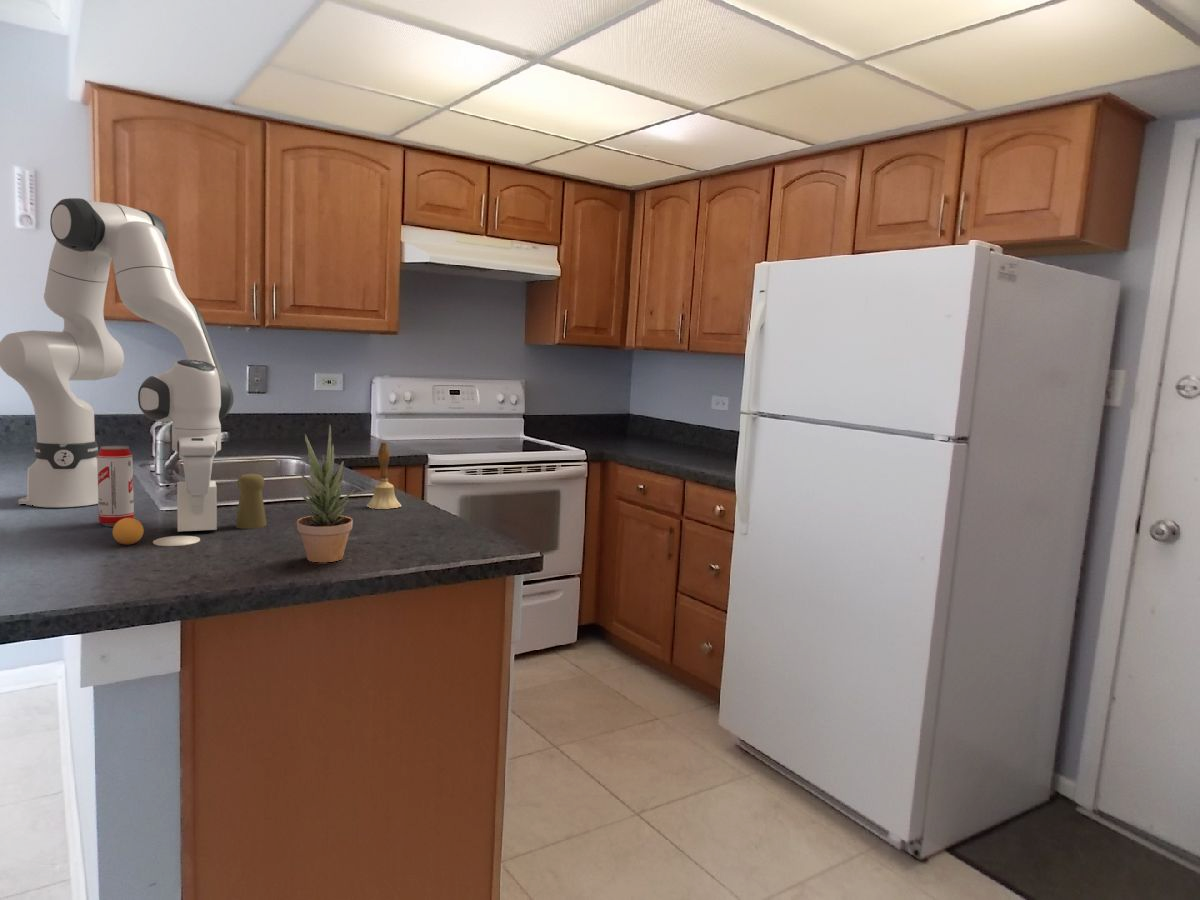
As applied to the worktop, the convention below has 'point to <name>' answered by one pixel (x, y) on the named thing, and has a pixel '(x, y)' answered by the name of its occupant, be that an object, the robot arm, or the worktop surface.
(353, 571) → the worktop surface
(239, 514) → the cork
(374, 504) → the hand bell
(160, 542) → the cream domed disc
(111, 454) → the beer can
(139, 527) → the ball
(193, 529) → the cream cube
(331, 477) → the potted plant
